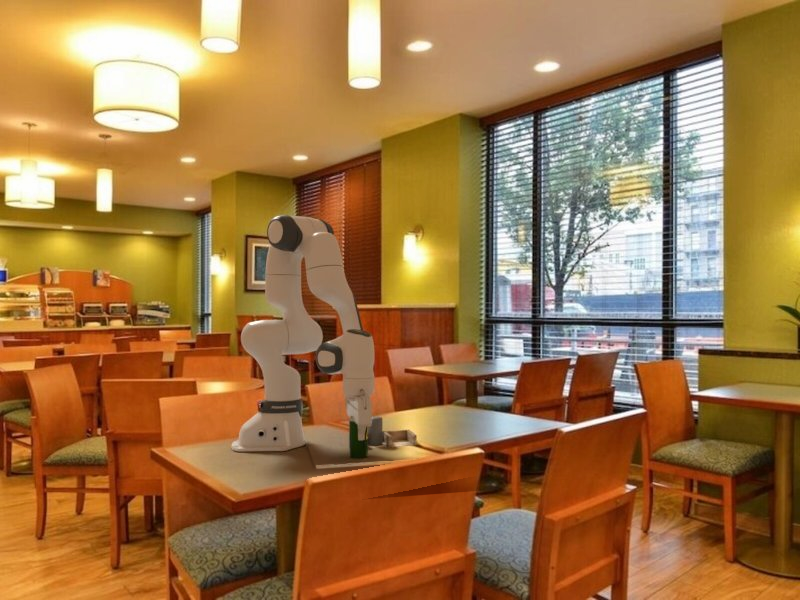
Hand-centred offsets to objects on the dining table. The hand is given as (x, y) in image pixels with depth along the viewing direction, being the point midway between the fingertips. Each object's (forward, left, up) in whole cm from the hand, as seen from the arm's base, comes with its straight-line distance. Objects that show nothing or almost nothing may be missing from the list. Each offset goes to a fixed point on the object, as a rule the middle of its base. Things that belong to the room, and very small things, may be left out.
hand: (358, 437), depth 166 cm
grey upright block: (+7, +14, -5) cm, 17 cm away
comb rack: (+11, +14, -6) cm, 19 cm away
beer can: (0, 0, -6) cm, 6 cm away
